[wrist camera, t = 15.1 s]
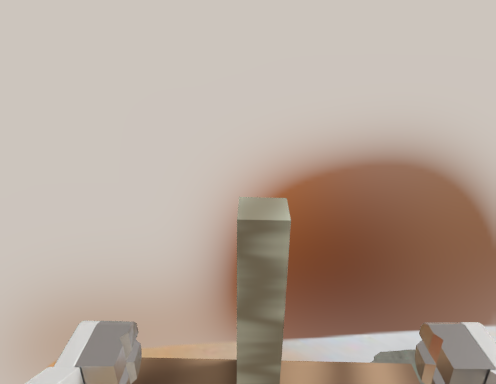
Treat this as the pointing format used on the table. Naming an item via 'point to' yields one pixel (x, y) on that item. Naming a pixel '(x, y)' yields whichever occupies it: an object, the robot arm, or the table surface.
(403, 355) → the stone slab
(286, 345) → the table surface
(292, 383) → the brown t-shaped piece
